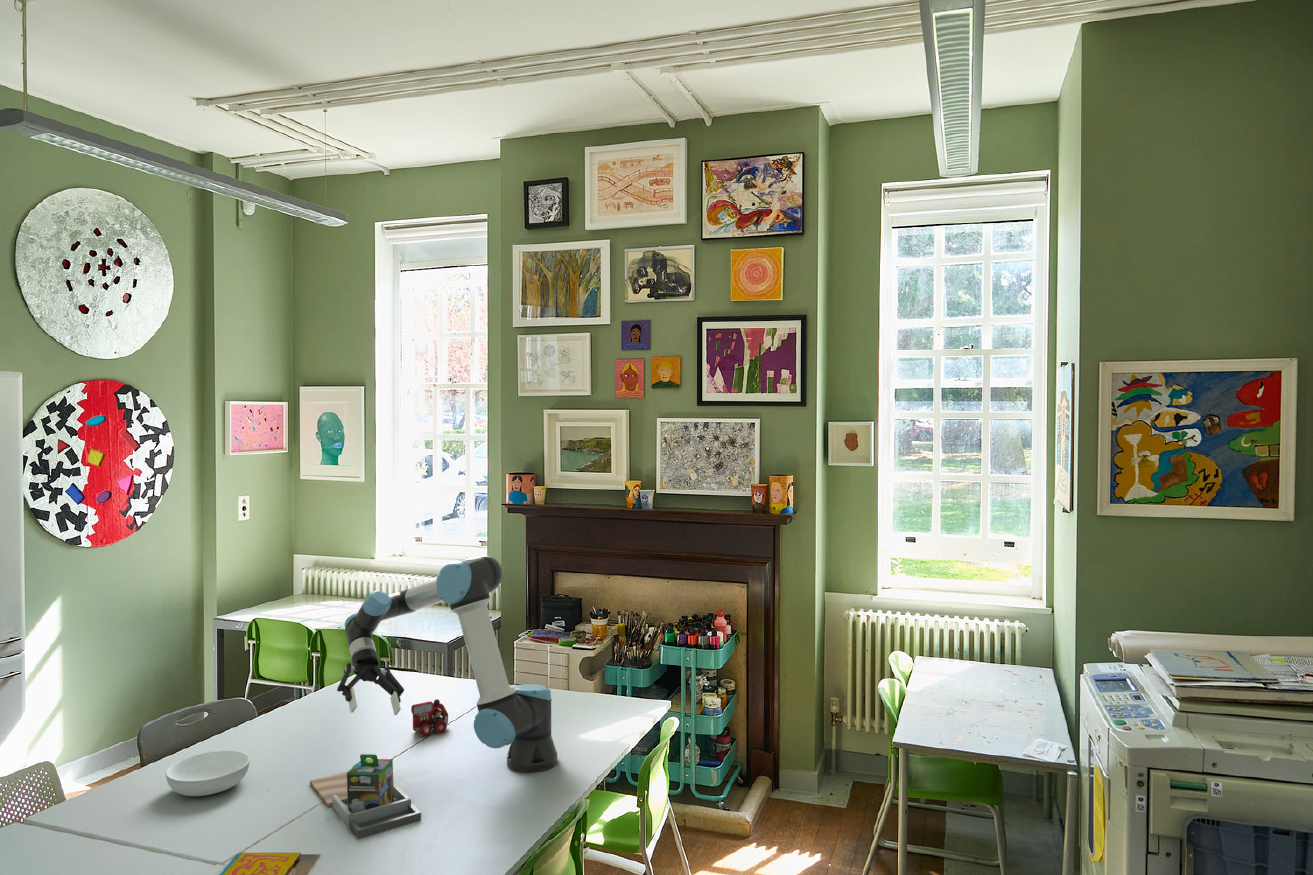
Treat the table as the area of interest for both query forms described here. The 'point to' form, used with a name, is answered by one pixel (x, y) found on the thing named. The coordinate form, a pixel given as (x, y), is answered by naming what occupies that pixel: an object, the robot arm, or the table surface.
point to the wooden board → (331, 787)
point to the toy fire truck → (429, 718)
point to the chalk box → (370, 783)
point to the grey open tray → (379, 815)
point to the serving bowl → (207, 772)
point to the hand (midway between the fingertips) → (376, 710)
